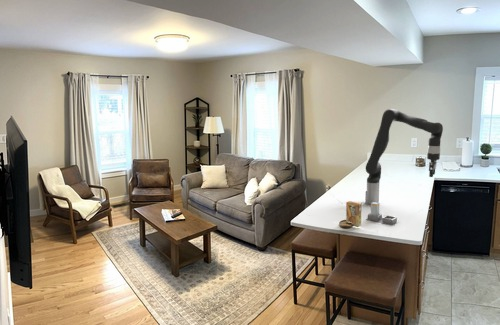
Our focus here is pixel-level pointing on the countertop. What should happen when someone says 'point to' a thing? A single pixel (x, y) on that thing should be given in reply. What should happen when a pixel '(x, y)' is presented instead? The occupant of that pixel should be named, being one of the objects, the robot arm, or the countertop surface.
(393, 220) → the grey boxy piece
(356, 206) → the candy box
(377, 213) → the plug
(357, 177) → the countertop surface
